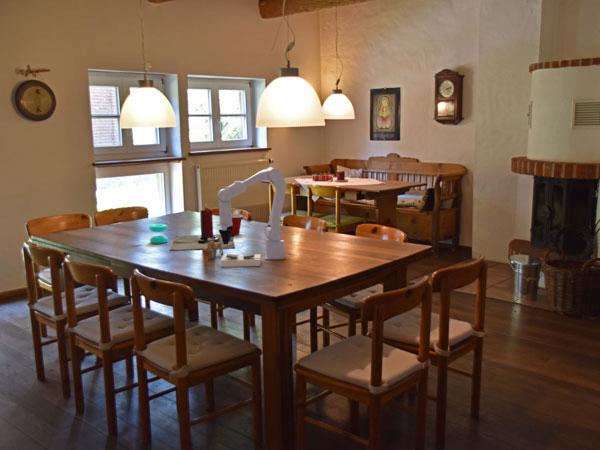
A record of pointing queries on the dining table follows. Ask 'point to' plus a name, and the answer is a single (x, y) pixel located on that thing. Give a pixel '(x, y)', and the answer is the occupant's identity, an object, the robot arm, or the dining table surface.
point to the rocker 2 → (249, 256)
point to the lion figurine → (214, 248)
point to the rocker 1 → (232, 256)
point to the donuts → (159, 238)
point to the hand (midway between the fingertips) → (226, 242)
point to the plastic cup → (236, 223)
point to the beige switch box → (241, 261)
